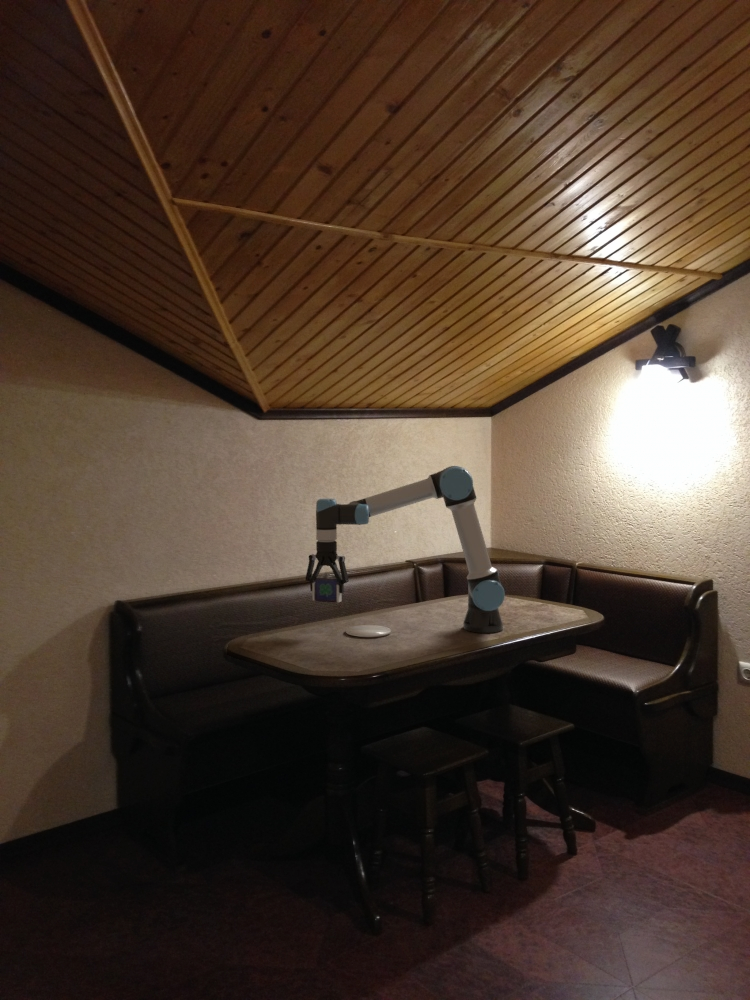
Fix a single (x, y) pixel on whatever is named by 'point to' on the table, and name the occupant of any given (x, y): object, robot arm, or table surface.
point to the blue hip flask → (326, 589)
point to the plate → (368, 631)
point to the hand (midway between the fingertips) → (327, 600)
